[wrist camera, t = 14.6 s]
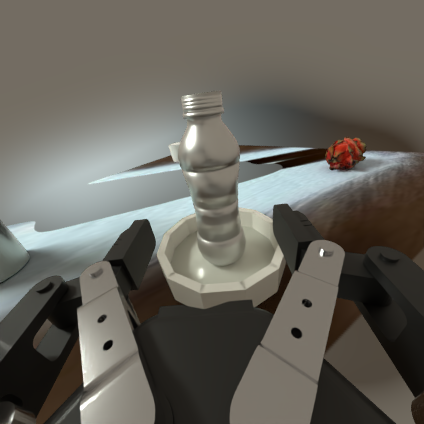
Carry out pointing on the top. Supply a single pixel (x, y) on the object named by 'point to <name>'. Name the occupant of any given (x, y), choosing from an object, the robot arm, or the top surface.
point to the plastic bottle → (212, 178)
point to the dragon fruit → (345, 153)
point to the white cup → (174, 151)
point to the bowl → (222, 275)
